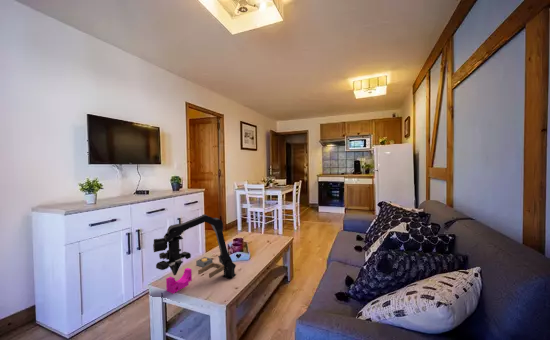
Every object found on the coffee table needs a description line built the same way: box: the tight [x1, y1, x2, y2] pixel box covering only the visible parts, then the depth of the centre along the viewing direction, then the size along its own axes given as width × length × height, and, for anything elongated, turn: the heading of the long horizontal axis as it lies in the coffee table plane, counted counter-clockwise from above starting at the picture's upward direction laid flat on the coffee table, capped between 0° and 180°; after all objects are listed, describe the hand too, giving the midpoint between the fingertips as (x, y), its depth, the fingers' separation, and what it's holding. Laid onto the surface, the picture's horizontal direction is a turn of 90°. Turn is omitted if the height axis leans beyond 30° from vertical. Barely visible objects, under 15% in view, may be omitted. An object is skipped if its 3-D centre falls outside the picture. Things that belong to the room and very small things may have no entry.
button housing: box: [195, 256, 214, 268], centre depth 164 cm, size 8×8×3 cm
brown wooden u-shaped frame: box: [197, 262, 225, 279], centre depth 152 cm, size 11×14×2 cm
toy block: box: [165, 267, 193, 295], centre depth 134 cm, size 15×6×8 cm, turn 152°
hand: (174, 275), depth 127 cm, fingers closed
